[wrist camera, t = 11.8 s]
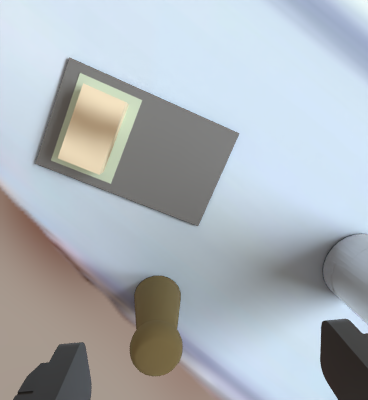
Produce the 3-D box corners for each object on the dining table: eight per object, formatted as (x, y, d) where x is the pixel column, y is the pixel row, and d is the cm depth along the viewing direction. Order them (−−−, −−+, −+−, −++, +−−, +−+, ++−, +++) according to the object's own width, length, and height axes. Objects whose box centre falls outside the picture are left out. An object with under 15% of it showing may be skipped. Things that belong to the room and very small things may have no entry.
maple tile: (103, 171, 34) (99, 174, 31) (65, 156, 33) (57, 158, 31) (129, 104, 32) (126, 102, 30) (89, 87, 32) (83, 83, 29)
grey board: (238, 133, 34) (239, 133, 34) (197, 225, 37) (198, 226, 36) (70, 58, 31) (69, 57, 31) (36, 163, 33) (34, 163, 33)
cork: (176, 319, 39) (182, 390, 29) (131, 315, 39) (119, 385, 28) (184, 278, 38) (193, 335, 27) (137, 272, 37) (127, 329, 27)
